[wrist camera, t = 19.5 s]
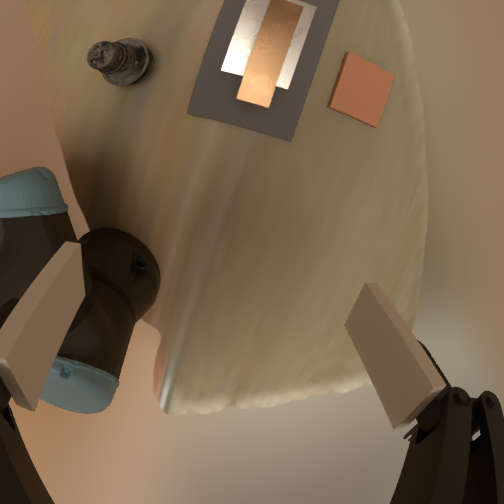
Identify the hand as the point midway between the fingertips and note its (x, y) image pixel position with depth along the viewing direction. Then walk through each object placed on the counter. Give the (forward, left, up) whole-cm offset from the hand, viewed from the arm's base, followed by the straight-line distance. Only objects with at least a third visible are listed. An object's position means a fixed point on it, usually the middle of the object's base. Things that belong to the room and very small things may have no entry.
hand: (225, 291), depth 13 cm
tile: (+13, +11, -26) cm, 31 cm away
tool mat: (0, +16, -26) cm, 31 cm away
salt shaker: (-15, +10, -27) cm, 32 cm away
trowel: (0, +15, -26) cm, 30 cm away
